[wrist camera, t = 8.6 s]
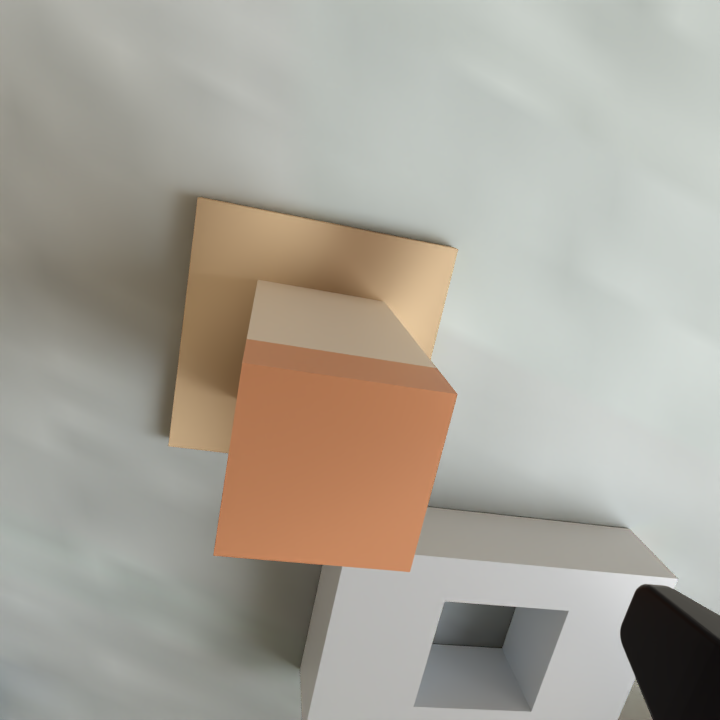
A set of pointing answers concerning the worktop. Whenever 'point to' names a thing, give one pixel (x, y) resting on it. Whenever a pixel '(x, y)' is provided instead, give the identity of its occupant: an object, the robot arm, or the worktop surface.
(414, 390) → the plug
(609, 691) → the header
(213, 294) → the mat
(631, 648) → the robot arm
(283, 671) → the worktop surface
